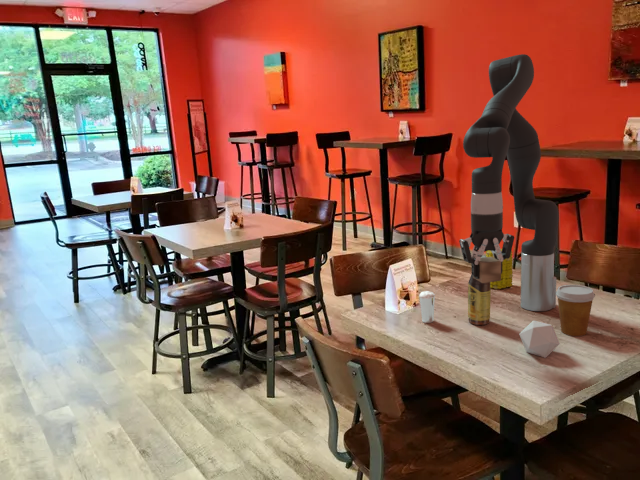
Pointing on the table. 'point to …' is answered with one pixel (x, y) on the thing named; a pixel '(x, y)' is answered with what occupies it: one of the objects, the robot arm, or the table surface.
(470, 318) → the sauce bottle
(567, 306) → the disposable coffee cup
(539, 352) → the die
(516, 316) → the table surface
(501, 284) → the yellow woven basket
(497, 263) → the walnut cube
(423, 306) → the milkshake
